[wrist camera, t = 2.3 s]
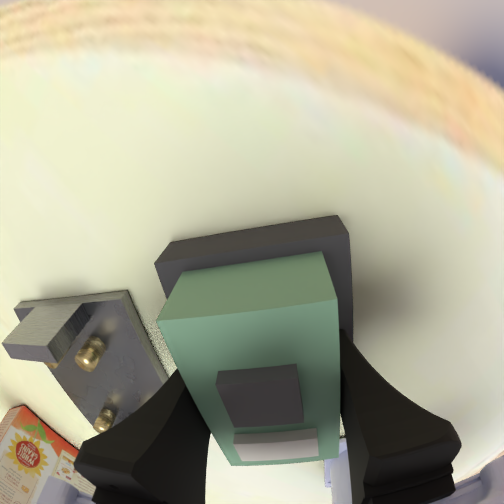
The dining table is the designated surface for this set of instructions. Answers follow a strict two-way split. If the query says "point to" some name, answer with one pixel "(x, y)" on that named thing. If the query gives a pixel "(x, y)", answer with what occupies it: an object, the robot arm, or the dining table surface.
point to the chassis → (91, 352)
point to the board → (261, 356)
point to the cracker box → (33, 458)
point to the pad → (268, 254)
